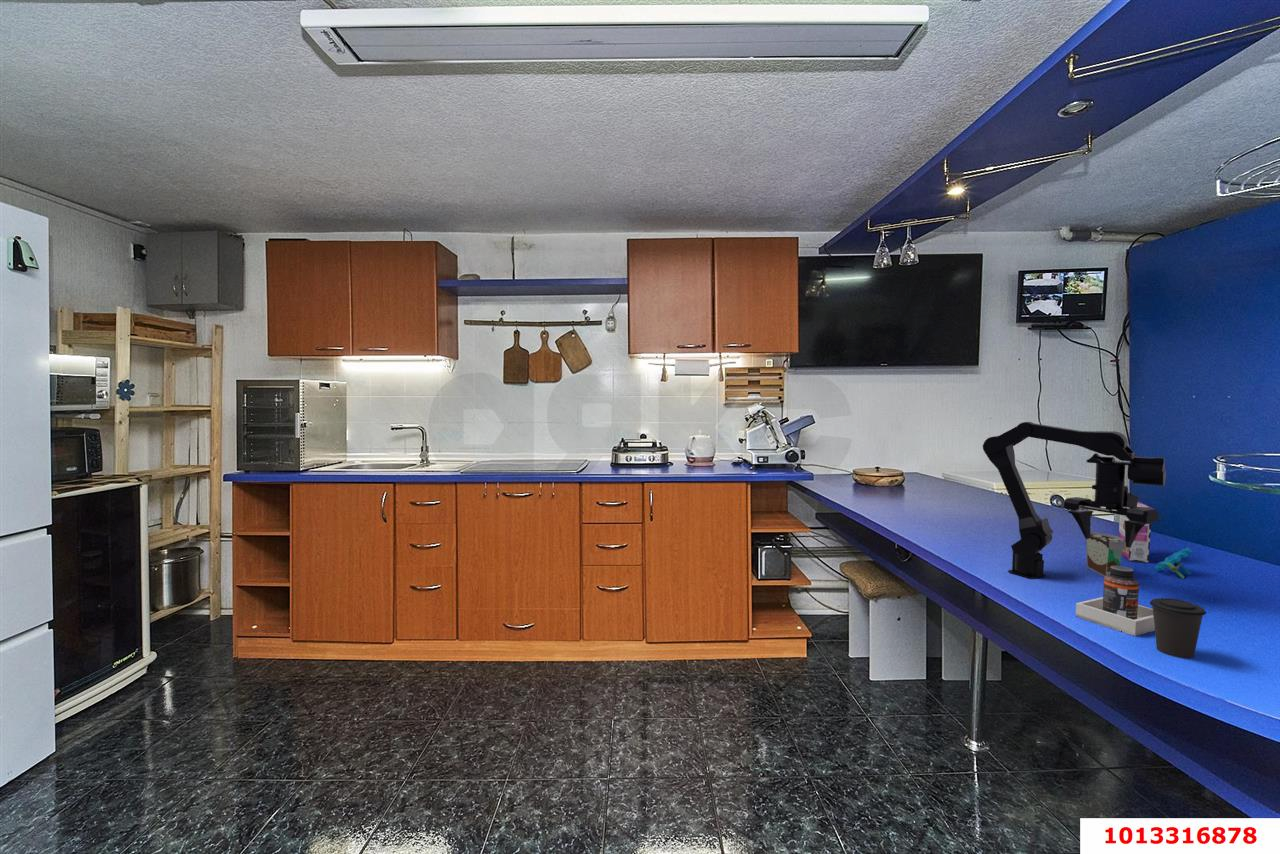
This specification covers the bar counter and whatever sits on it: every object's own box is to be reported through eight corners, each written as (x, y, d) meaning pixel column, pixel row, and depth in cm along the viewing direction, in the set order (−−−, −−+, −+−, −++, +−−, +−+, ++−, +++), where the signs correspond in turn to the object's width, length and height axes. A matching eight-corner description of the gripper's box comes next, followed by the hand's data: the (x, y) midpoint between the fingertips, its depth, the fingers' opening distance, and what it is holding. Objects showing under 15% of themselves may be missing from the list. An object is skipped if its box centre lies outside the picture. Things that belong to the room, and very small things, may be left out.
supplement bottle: (1130, 626, 123) (1132, 574, 123) (1097, 617, 128) (1099, 566, 128) (1142, 620, 126) (1144, 569, 126) (1109, 611, 131) (1111, 562, 131)
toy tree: (1156, 559, 167) (1190, 541, 161) (1175, 577, 165) (1211, 559, 158) (1147, 572, 161) (1182, 553, 154) (1166, 590, 158) (1203, 572, 151)
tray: (1075, 616, 130) (1076, 603, 130) (1107, 609, 135) (1107, 595, 134) (1135, 636, 120) (1135, 621, 120) (1167, 627, 124) (1167, 613, 124)
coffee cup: (1138, 641, 118) (1140, 592, 117) (1187, 645, 115) (1190, 596, 115) (1161, 658, 110) (1164, 606, 109) (1214, 664, 108) (1217, 611, 107)
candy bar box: (1150, 563, 169) (1153, 507, 168) (1128, 561, 172) (1131, 506, 171) (1137, 553, 180) (1139, 501, 179) (1117, 551, 182) (1119, 499, 181)
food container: (1135, 580, 155) (1137, 543, 154) (1109, 579, 156) (1110, 542, 155) (1108, 566, 167) (1109, 532, 166) (1083, 565, 168) (1085, 531, 167)
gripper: (1174, 484, 141) (1170, 548, 141) (1089, 474, 158) (1087, 531, 159) (1146, 488, 136) (1143, 553, 137) (1062, 477, 154) (1060, 535, 154)
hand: (1107, 542), depth 147 cm, fingers open, 9 cm apart
